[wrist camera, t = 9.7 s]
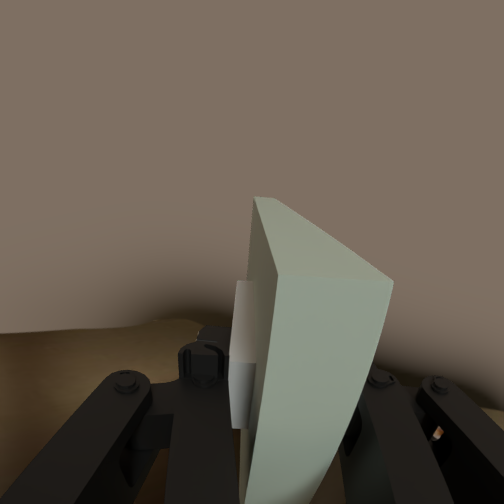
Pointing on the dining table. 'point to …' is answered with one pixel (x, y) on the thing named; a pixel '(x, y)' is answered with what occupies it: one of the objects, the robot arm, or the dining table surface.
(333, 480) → the dining table surface
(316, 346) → the sage slotted plate
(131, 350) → the dining table surface
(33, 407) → the dining table surface
